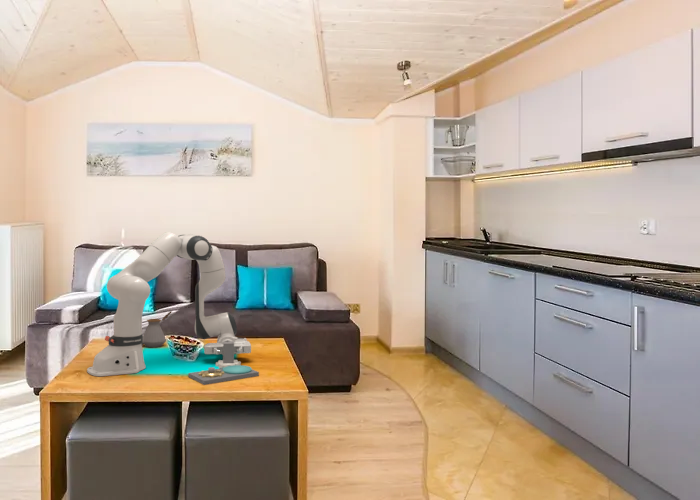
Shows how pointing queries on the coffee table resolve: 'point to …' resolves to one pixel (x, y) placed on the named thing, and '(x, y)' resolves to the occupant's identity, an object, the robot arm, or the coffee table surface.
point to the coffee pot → (154, 333)
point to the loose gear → (228, 356)
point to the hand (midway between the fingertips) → (228, 352)
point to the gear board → (223, 374)
